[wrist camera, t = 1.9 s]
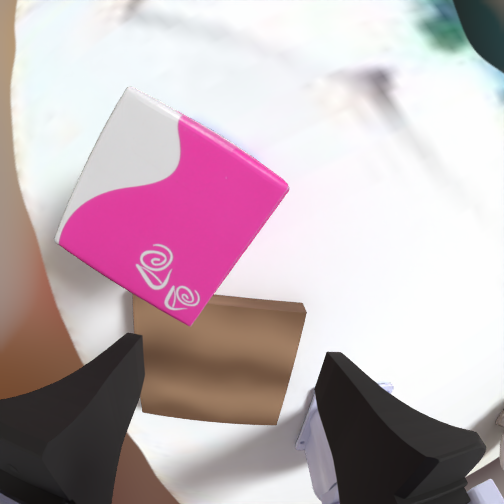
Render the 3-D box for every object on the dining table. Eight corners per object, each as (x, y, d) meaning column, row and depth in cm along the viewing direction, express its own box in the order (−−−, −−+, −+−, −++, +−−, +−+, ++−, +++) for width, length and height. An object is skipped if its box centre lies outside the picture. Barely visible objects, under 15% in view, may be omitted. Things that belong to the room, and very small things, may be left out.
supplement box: (141, 193, 19) (45, 240, 8) (189, 116, 18) (130, 71, 7) (213, 239, 21) (190, 334, 10) (264, 164, 19) (301, 177, 8)
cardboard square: (274, 410, 26) (276, 425, 25) (146, 397, 25) (142, 412, 24) (301, 299, 23) (306, 312, 21) (140, 282, 22) (132, 294, 20)
